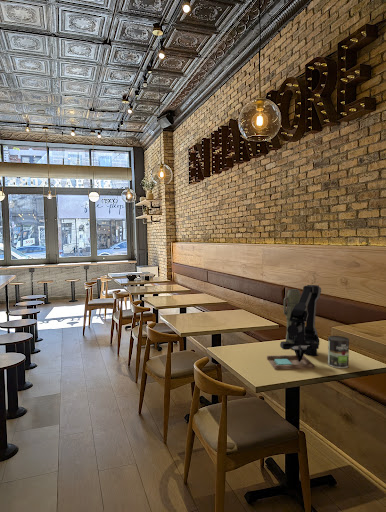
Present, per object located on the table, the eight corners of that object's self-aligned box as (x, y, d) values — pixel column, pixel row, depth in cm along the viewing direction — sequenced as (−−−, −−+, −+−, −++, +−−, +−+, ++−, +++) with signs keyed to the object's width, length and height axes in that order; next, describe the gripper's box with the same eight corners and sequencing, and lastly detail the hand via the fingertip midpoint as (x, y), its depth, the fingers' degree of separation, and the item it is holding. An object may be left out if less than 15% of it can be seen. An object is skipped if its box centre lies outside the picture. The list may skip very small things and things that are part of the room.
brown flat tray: (303, 359, 205) (303, 354, 205) (314, 369, 189) (314, 365, 189) (266, 360, 204) (267, 355, 204) (274, 370, 188) (274, 365, 188)
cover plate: (287, 361, 200) (287, 358, 200) (292, 366, 192) (292, 363, 192) (274, 361, 200) (274, 359, 200) (278, 366, 192) (278, 364, 192)
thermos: (305, 348, 224) (306, 290, 223) (287, 349, 223) (287, 290, 221) (299, 344, 233) (299, 288, 231) (281, 345, 231) (281, 288, 229)
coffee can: (352, 367, 191) (353, 340, 191) (334, 369, 190) (334, 341, 189) (341, 361, 201) (342, 335, 201) (323, 362, 200) (324, 336, 199)
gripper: (311, 327, 204) (311, 356, 205) (277, 328, 203) (277, 356, 204) (319, 333, 193) (318, 362, 194) (283, 333, 192) (283, 363, 193)
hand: (299, 361), depth 196 cm, fingers closed
